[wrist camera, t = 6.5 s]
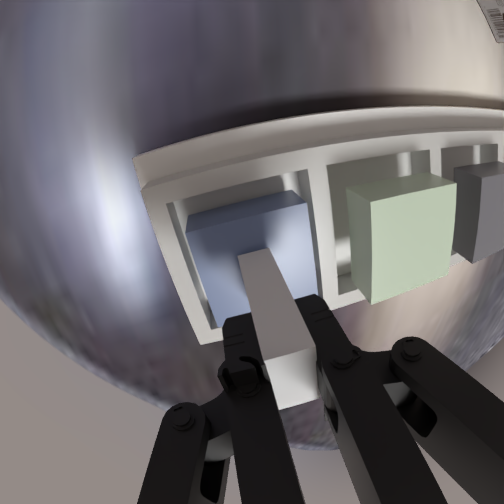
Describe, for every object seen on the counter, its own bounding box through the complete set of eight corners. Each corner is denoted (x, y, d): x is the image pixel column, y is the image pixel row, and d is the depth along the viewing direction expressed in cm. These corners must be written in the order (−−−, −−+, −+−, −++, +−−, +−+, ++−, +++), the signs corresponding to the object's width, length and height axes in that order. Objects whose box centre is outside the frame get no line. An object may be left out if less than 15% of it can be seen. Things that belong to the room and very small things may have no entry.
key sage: (345, 187, 14) (370, 202, 12) (427, 171, 14) (456, 183, 12) (351, 280, 16) (371, 304, 14) (424, 256, 17) (447, 274, 14)
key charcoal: (453, 167, 14) (481, 178, 12) (498, 160, 14) (522, 170, 12) (448, 247, 17) (472, 263, 14) (492, 230, 17) (513, 243, 15)
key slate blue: (187, 215, 15) (185, 233, 13) (291, 189, 15) (306, 202, 13) (215, 300, 18) (218, 327, 15) (305, 277, 18) (318, 300, 15)
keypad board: (140, 153, 16) (121, 164, 12) (511, 110, 17) (540, 117, 14) (199, 323, 22) (200, 361, 18) (507, 225, 23) (531, 239, 19)
